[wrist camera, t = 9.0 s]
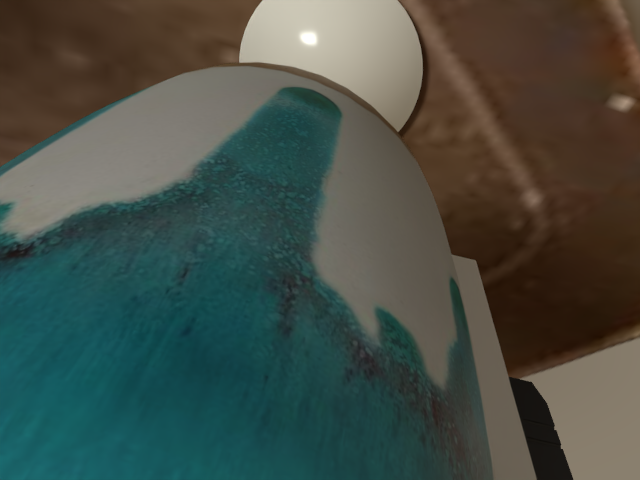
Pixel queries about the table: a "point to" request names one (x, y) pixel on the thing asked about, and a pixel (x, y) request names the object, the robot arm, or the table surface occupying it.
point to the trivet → (343, 47)
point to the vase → (232, 294)
